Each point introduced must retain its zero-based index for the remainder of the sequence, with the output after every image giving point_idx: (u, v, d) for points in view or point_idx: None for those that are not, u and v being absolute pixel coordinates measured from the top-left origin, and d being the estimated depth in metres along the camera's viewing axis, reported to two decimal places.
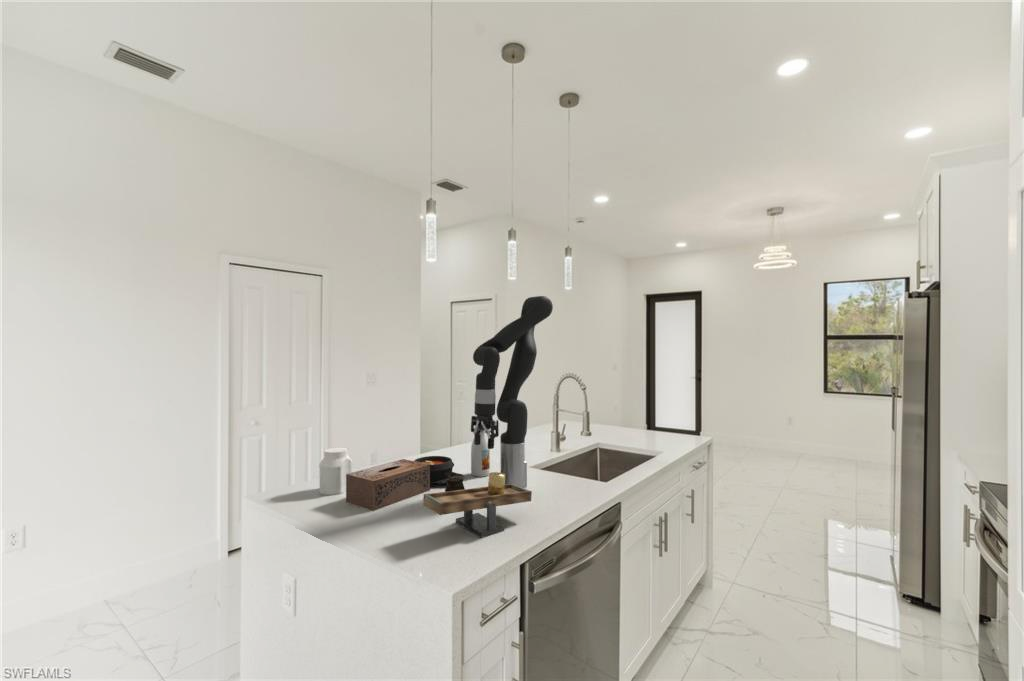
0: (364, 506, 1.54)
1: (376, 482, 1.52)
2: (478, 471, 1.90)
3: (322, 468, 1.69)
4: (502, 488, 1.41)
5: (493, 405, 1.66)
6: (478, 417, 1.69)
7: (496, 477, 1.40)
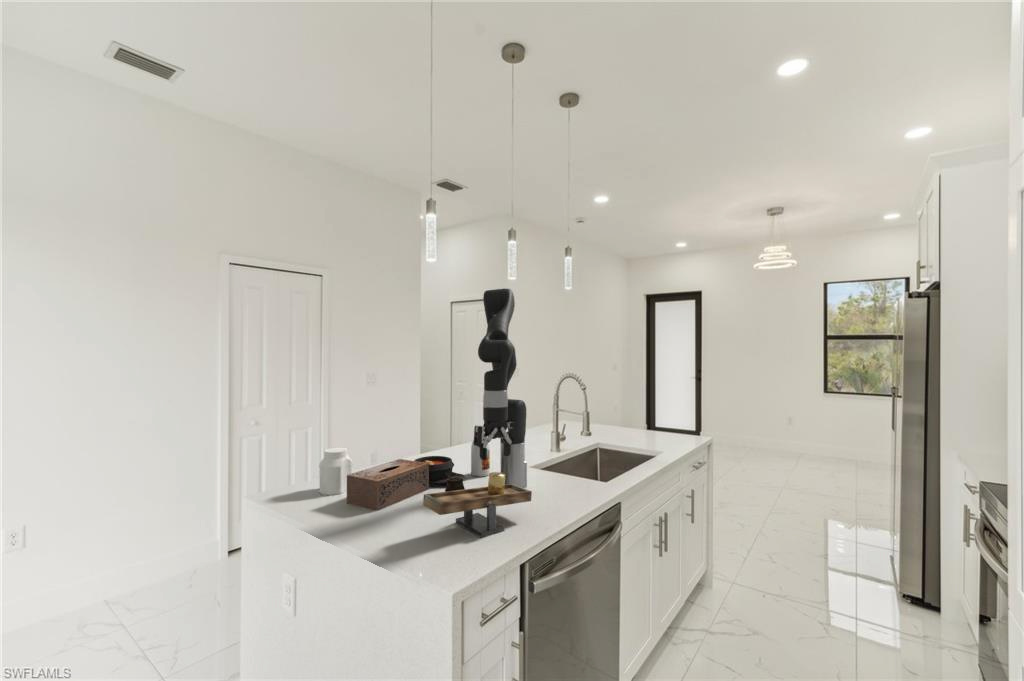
0: (366, 507, 1.54)
1: (380, 482, 1.52)
2: (478, 471, 1.90)
3: (322, 468, 1.69)
4: (502, 488, 1.41)
5: None
6: (491, 425, 1.40)
7: (496, 477, 1.40)
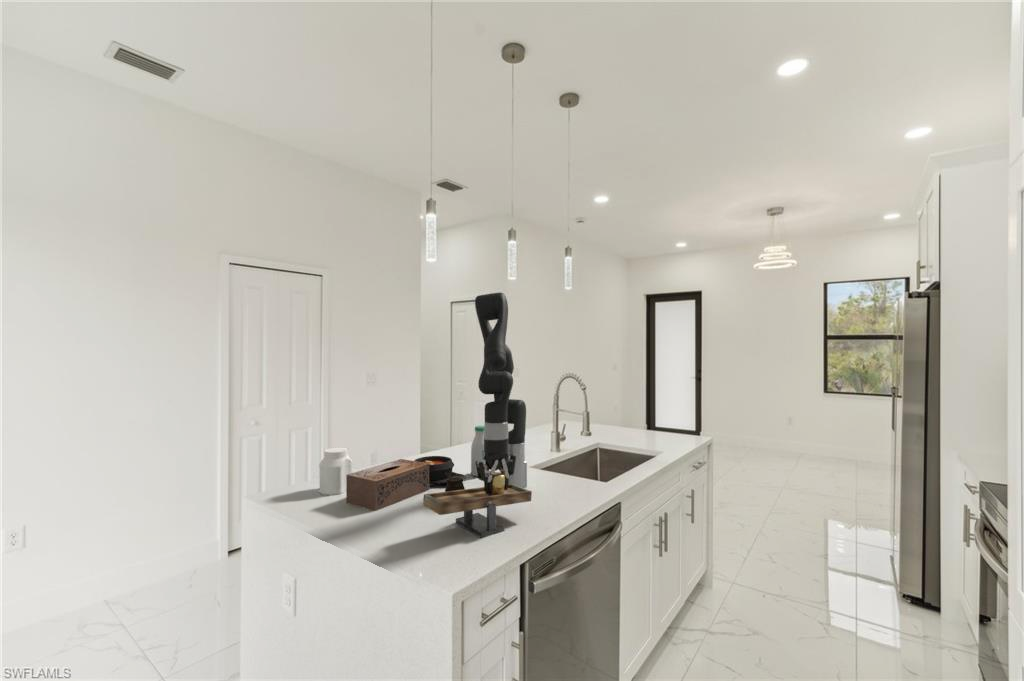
0: (365, 507, 1.54)
1: (378, 482, 1.52)
2: None
3: (322, 468, 1.69)
4: (502, 488, 1.41)
5: None
6: (492, 457, 1.40)
7: (496, 477, 1.40)
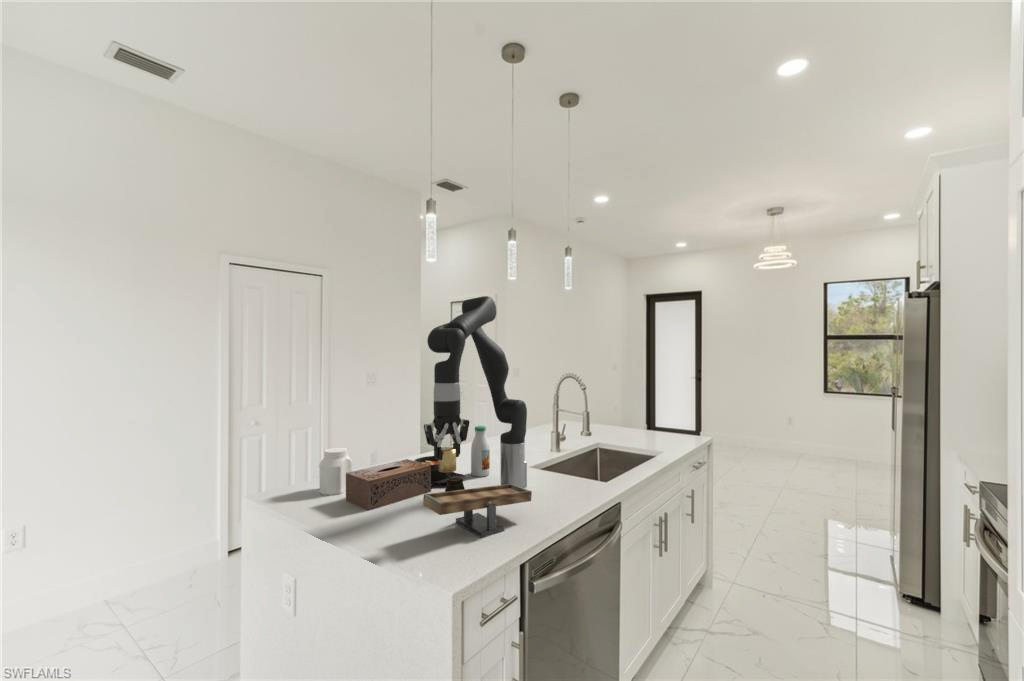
0: (360, 506, 1.55)
1: (371, 482, 1.53)
2: (478, 471, 1.90)
3: (322, 468, 1.69)
4: (453, 463, 1.30)
5: None
6: (441, 420, 1.30)
7: (445, 452, 1.29)
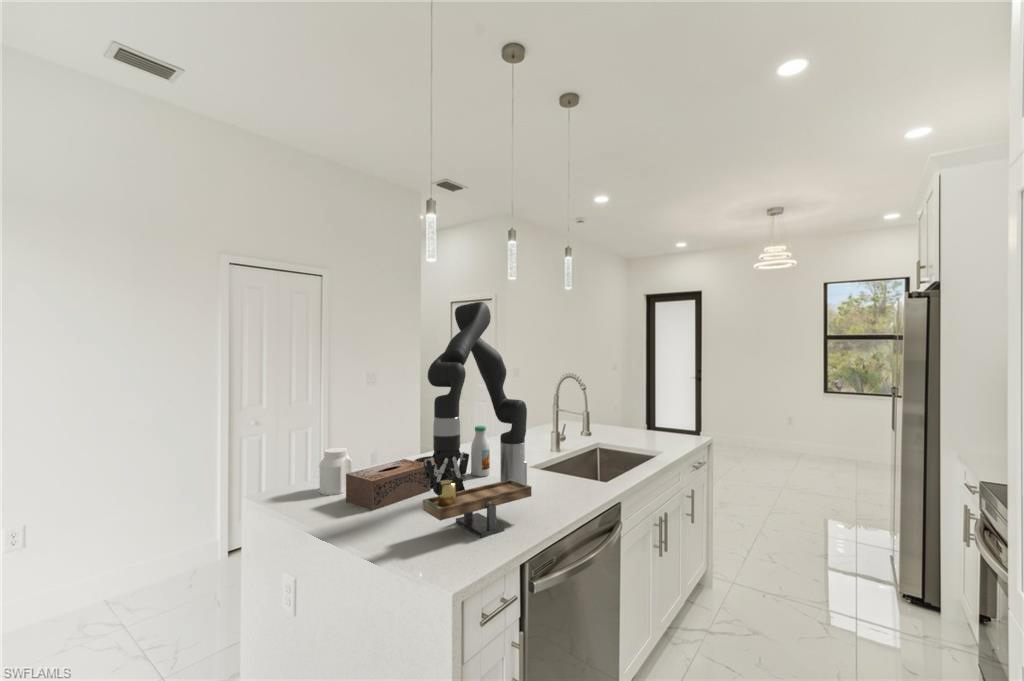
0: (363, 506, 1.54)
1: (374, 482, 1.52)
2: (478, 471, 1.90)
3: (322, 468, 1.69)
4: (452, 498, 1.30)
5: None
6: (441, 455, 1.29)
7: (445, 487, 1.29)
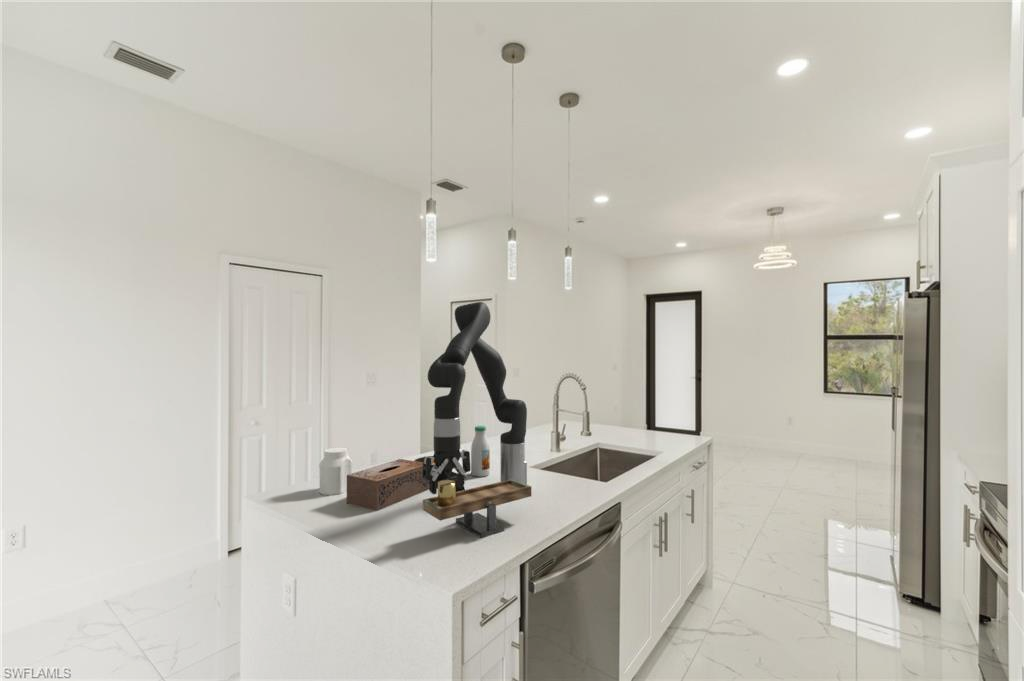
0: (366, 507, 1.54)
1: (379, 482, 1.52)
2: (478, 471, 1.90)
3: (322, 468, 1.69)
4: (452, 498, 1.30)
5: None
6: (441, 456, 1.29)
7: (445, 487, 1.29)
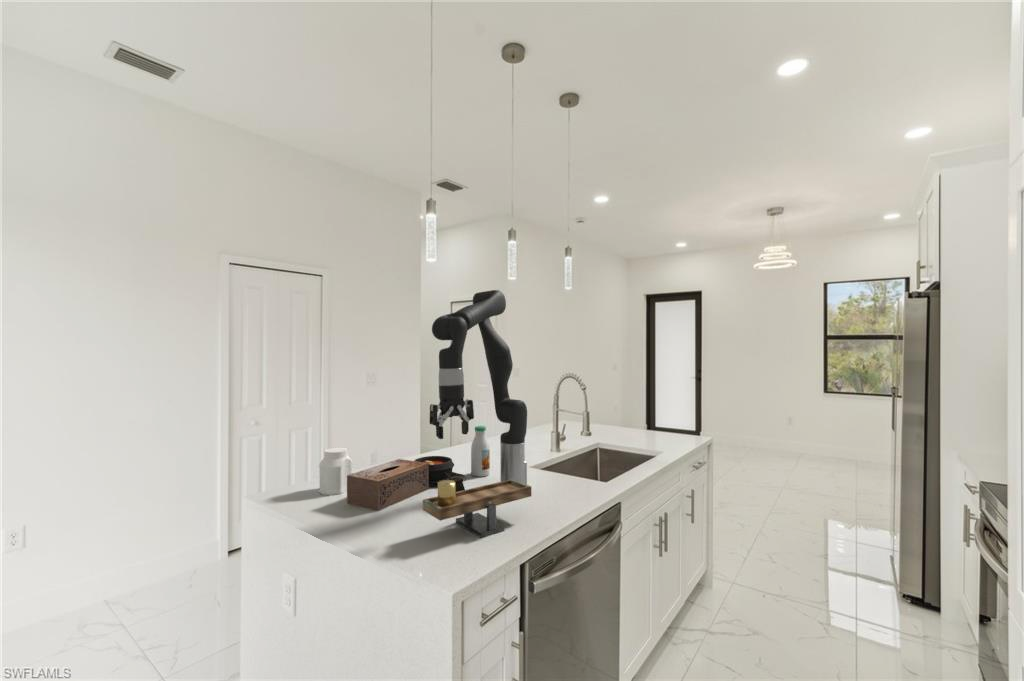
0: (367, 507, 1.54)
1: (380, 482, 1.52)
2: (478, 471, 1.90)
3: (322, 468, 1.69)
4: (452, 497, 1.30)
5: None
6: (447, 403, 1.38)
7: (445, 487, 1.29)
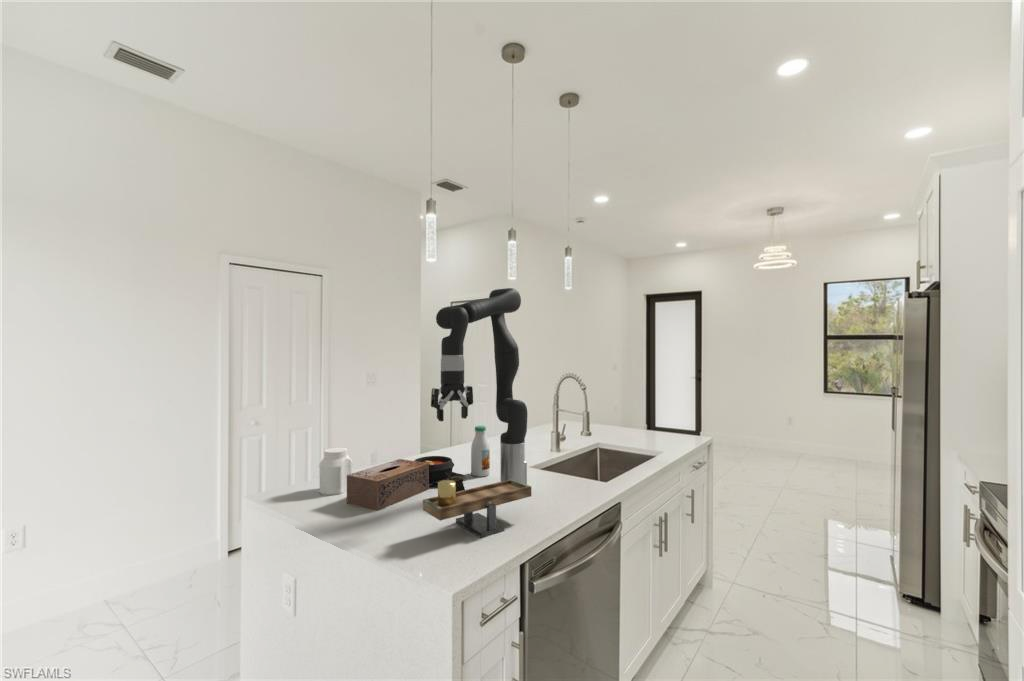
0: (366, 507, 1.54)
1: (379, 482, 1.52)
2: (478, 471, 1.90)
3: (322, 468, 1.69)
4: (452, 498, 1.30)
5: None
6: (447, 388, 1.47)
7: (445, 487, 1.29)
